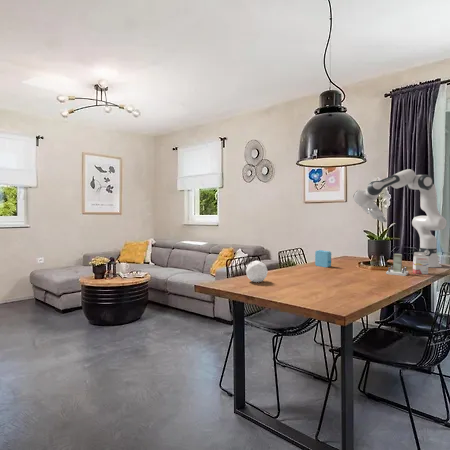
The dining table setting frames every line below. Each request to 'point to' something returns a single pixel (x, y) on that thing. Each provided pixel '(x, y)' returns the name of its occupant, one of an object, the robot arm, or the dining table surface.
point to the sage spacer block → (397, 263)
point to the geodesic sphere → (256, 271)
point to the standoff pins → (392, 269)
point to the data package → (323, 258)
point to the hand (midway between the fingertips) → (384, 222)
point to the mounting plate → (397, 273)
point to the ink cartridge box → (420, 263)
